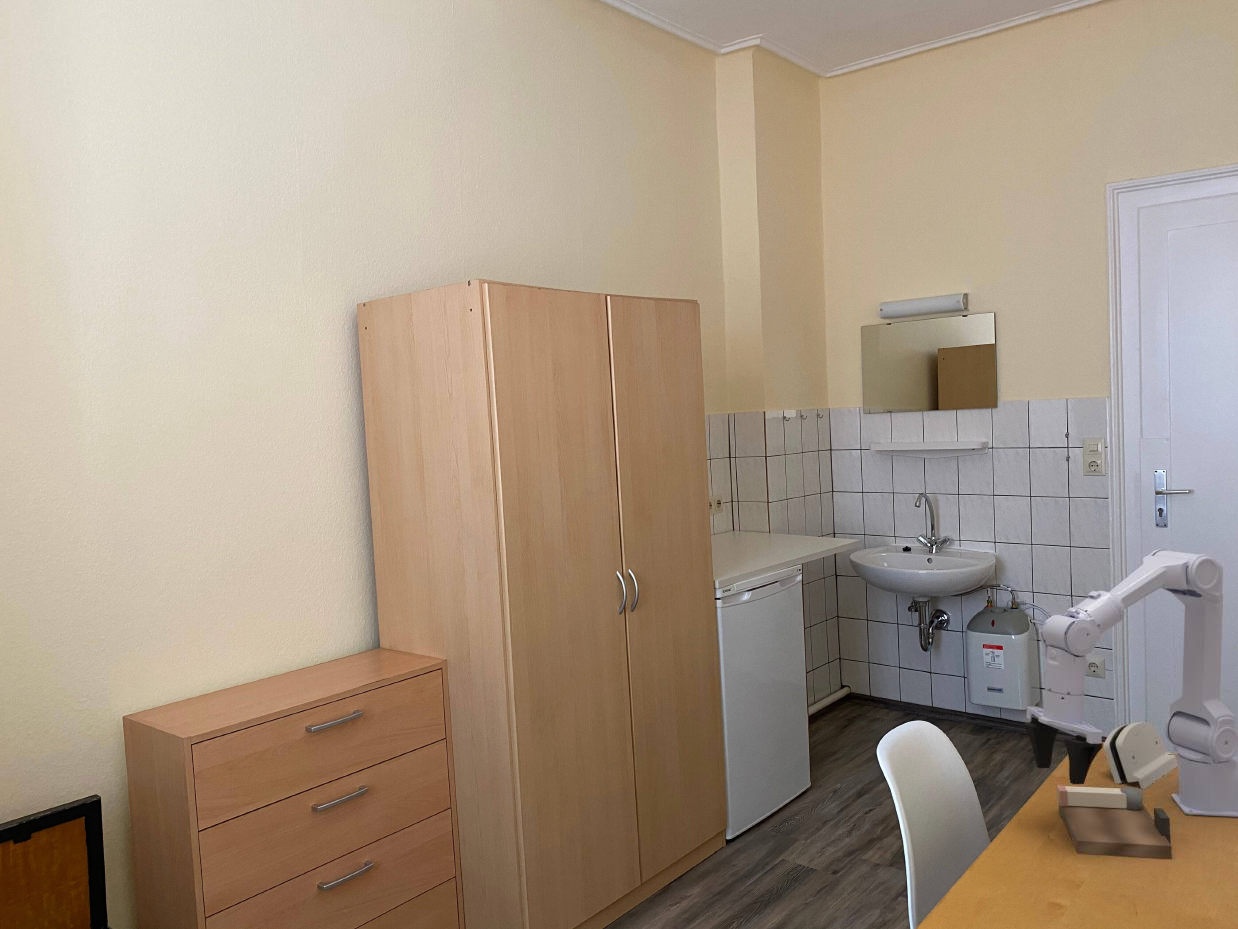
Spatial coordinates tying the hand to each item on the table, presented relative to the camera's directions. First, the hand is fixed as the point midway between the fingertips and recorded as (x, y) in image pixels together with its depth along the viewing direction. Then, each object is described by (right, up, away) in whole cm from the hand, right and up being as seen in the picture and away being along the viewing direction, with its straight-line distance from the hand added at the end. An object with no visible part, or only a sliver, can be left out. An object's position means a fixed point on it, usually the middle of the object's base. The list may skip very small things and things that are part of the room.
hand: (1059, 775), depth 149 cm
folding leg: (+10, -7, +7) cm, 14 cm away
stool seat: (+9, -10, +1) cm, 13 cm away
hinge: (+27, -8, +26) cm, 38 cm away
